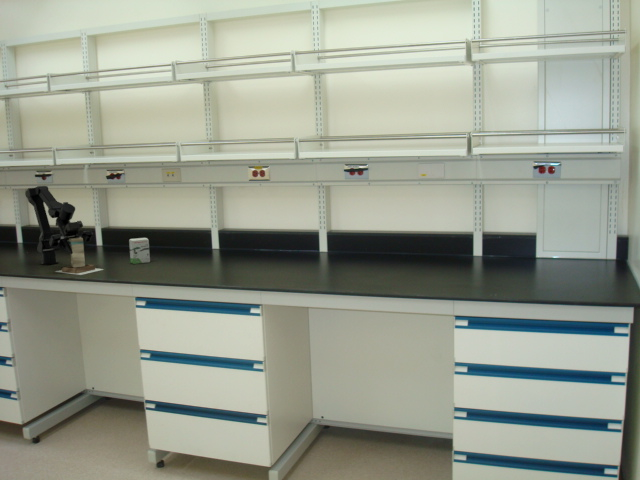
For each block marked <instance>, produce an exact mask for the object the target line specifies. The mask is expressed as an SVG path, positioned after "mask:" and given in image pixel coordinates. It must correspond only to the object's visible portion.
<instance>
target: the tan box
mask: <svg viewBox="0 0 640 480" xmlns="http://www.w3.org/2000/svg"><path fill="white" fill-rule="evenodd" d="M69 240H70V241H68V243H69V246H70V247H71V249H72V252H73V253H72V254H71V253H70V261H71V266H72V267H73V268H75V267H83V266H85V264H86V261H85V252H84V246H83V238H70V239H69Z"/></svg>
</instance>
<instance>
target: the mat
mask: <svg viewBox="0 0 640 480" xmlns="http://www.w3.org/2000/svg"><path fill="white" fill-rule="evenodd" d="M103 270H105V268H104V269H103V268H96V267H95V270H91V271H86V272H82V273H78V274H75V273H67V272H62V269H61V270H60V269H59V270H56V271H54V272H55V273H60V274H61V273H63V274H71V275H79V276H82V275H87V274H91V273H96V272H99V271H103Z"/></svg>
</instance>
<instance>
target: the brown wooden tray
mask: <svg viewBox="0 0 640 480" xmlns="http://www.w3.org/2000/svg"><path fill="white" fill-rule="evenodd" d="M95 266H96V265H95V264H86V263H85V266H83V267H75V268H73V267H72V265H68V266H63V267H61V270H62V272H67V273H66V274H69V273H75V274H74V275H77V274H78V273H82V272H86V271H91V270H95V268H96V267H95Z"/></svg>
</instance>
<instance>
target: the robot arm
mask: <svg viewBox="0 0 640 480" xmlns="http://www.w3.org/2000/svg"><path fill="white" fill-rule="evenodd" d="M24 193H25V194H24V195H25V197H26V198H27V201H28V203H29V204H30V205H31V206H33V210H34V213H35V217H36V220H37V224H38V227H39V232H40V235H39V238H38V244H37V247H36V249H37V253H40V254H41V258H42V259H41V261H42V262H40V263H39V265H46V266H48V265H54V264H59V263H60V261H58V260H57V255H56V251H59V249H60V248H61V249H62V250H65V251H66V252H68V253H69V254H70V255H71V254H72V253H73V252H72V249H71V247H70V243H69V241H70V240H69V239H70V238H83V246H84V253H85V252H86V243H90V242H91V240H92V238H93V235H94V233H93V232H92V230H84V231H82V232H81V234H78V233H79V230H80V229H82V228H83V227H84V224H83V222H82V220H77V221H72V222H71V220H72V219H73V217H74V214H75V211H76V207H75V206H74V205H73V204H71V203H69V202H67V201H64V202H63V203H62V202H59V201H57V199H56V198H55V197H54V195H53V194H52V193H51V190H49V187H48V185H38V186H35V187H29V188H28V187H27V189H26V190H25V192H24ZM45 205H46V207H47V208H48V209H47V211H46V207H45ZM47 213H48V215H49V217H50V218H52V219H55V218H56V219H55V227H58V229H59V234H57V233H56V232H55V231H52V229H51V225H50V221H49V218H48V215H47Z"/></svg>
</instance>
